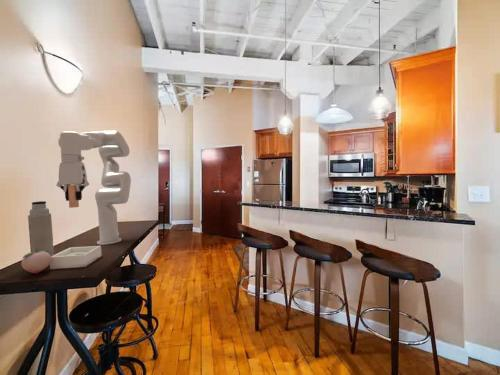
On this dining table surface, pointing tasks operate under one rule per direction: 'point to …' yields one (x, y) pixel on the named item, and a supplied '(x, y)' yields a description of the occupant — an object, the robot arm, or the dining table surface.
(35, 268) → the decorative fruit
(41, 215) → the thermos bottle
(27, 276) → the dining table surface
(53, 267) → the tub
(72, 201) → the peg
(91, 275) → the dining table surface
